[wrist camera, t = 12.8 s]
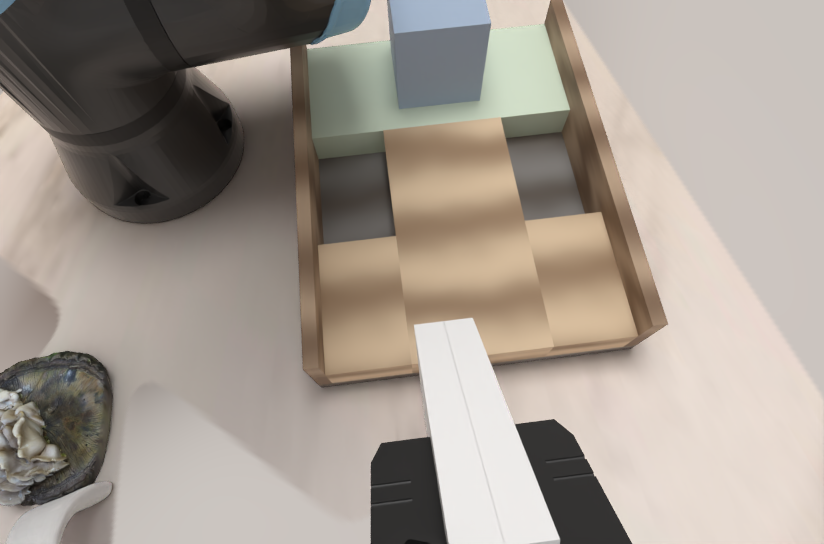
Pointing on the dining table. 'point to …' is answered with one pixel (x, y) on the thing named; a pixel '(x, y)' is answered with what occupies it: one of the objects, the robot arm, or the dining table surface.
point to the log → (52, 426)
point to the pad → (378, 105)
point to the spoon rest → (55, 516)
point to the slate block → (438, 50)
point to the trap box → (468, 238)
